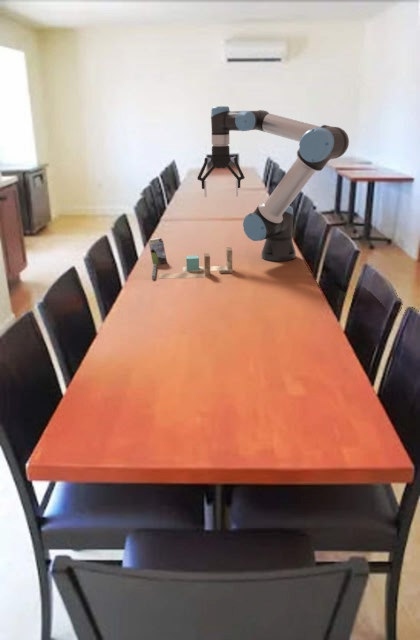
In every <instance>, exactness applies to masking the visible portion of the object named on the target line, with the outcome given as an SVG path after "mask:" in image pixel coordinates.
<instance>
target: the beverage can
mask: <svg viewBox="0 0 420 640" xmlns="http://www.w3.org/2000/svg"><path fill="white" fill-rule="evenodd" d="M148 244H149V246H148V247H149V250H150V254H151V260H152V264H153V265H154V263H157V265H158V266H159V265H166V264H167V263H168V260H167V259H168V258H167V254H166V249H165V246H164V245H165V244H164V240H163V239H162V237H161V236H158V237H153V238H150V239H149V241H148Z"/></svg>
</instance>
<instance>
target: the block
mask: <svg viewBox="0 0 420 640" xmlns="http://www.w3.org/2000/svg"><path fill="white" fill-rule="evenodd" d="M185 257H186V260H185V261H186V267H187V271H191V272H199V271H198V270H199V267H200V258H199V255H198V254H197V255H186V256H185Z"/></svg>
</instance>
